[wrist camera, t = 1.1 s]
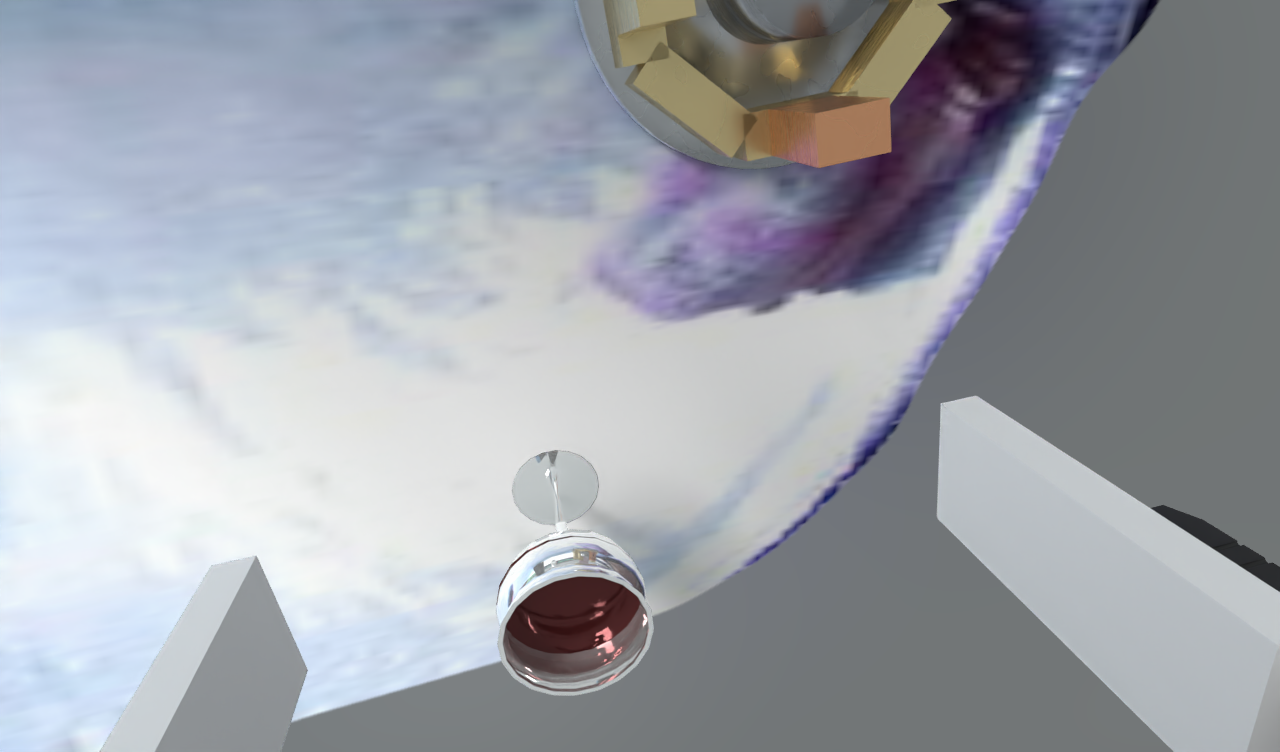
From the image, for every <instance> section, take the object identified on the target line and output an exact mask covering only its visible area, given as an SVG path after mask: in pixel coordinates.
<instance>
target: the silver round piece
mask: <svg viewBox="0 0 1280 752" xmlns="http://www.w3.org/2000/svg"><path fill="white" fill-rule="evenodd" d="M694 1H695V8H696V16H693V17H690V18H688V19H685V20H682V21H679V22H676V23H673V24H670V25H667V26H665V29H666V36H667V43H668V47H669V48H670V49H671V50H672V51H674V52H675V53H676V54H677V55H679V56H680V57H681V58H683V59H684V60H685V61H686V62H688V63H689V64H690V65H691V66H693V67H694V68H695V69H696V70H698V71H699V72H700V73H701V74H703V75H704V76H705V77H706V78H708V79H709V80H710V81H711V82H713V83H714V84H715V85H716V86H718V87H719V88H720V89H722V90H723V91H724V92H725V93H727V94H728V95H729V96H730V97H732V98H733V99H734V100H735V101H737V102H738V103H739V104H740V105H742V106H743V107H744V108H745V109H748V108H752V107H757V106H762V105H767V104H771V103H776V102H781V101H786V100H790V99H795V98H800V97H805V96H809V95H814V94H819V93H823V92H828V91H829V89H830V88H831V86H832V85H833V83H834V82H835V80H836V79H837V78H838V76H839V75H840V73H841V72H842V70H843V69H844V67H845V66H846V65H847V63H848V62H849V60H850V59H851V57H852V56H853V54H854V53H855V52H856V50H857V49H858V47H859V46H860V44H861V43H862V41H863V40H864V39H865V37H866V36H867V34H868V33H869V31H870V30H871V28H872V27H873V26H874V24H875V23H876V21H877V20H878V18H879V17H880V15H881V14H882V12H883V11H884V10H885V8H886V7H887V5H888V4H889V0H694ZM574 2H575V9H576V13H577V17H578V21H579V25H580V29H581V33H582V36H583V39H584V41H585V44H586V47H587V49H588V52H589V54H590V57H591V60H592V62H593V64H594V65H595V67H596V69H597V71H598V73H599V75H600V77H601V79H602V81H603V82H604V84H605V86H606V87H607V88H608V90H609V91H610V93H611V94H612V95H613V97H614V98H615V100H616V101H617V103H618V104H619V105H620V106H621V107H622V108H623V109H624V111H625V112H626V113H627V114H628V115H629V116H630V117H631V118H632V119H633V120H634V121H635V122H636V123H637V124H638V125H639V126H641V127H642V128H643V129H644V130H645V131H647V132H648V133H649V134H650V135H651V136H653V137H654V138H656V139H657V140H659V141H661V142H662V143H664V144H665V145H667V146H669V147H670V148H672V149H674V150H677V151H679V152H681V153H683V154H685V155H688V156H690V157H692V158H695V159H698V160H701V161H704V162H708V163H711V164H715V165H718V166H724V167H731V168H739V169H765V168H772V167H778V166H785V165H788V164H792V163H795V162H794V161H790V160H786V159H782V158H779V157H775V156H770V157H766V158H761V159H756V160H752V161H744V160H741V159H738V158H734V157H732V158H729V157H726V156H723V155H720V154H717V153H716V152H714V151H713V150H712V149H710V148H709V147H708V146H706V145H705V144H704V143H702V142H701V141H700V140H698V139H697V138H696V137H694V136H693V135H692V134H690V133H689V132H688V131H686V130H685V129H684V128H682V127H681V126H680V125H678V124H677V123H676V122H674V121H673V120H672V119H670V118H669V117H668V116H666V115H665V114H664V113H662V112H661V111H660V110H658V109H657V108H656V107H654V106H653V105H652V104H650V103H649V102H648V101H646V100H645V99H644V98H642V97H641V96H640V95H638V94H637V93H636V92H634V91H633V90H632V89H630V88H629V87H628V86H626V85H625V82H626V80H627V79H628V77H629V76H630V74H631V72H632V71H633V69H634V67H635V66H636V65H632V66H627V67H622V68H615V65H614V59H613V54H612V48H611V43H610V37H609V32H608V26H607V21H606V15H605V9H604V4H603V0H574Z"/></svg>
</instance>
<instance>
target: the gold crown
mask: <svg viewBox="0 0 1280 752" xmlns="http://www.w3.org/2000/svg"><path fill="white" fill-rule="evenodd" d="M950 1H955V0H889V4H888V5H887V7H886V8H885V10H884V11H883V12H882V14H881V15H880V17H879V18H878V20H877V21H876V23H875V24H874V26H873V27H872V28H871V30H870V31H869V33H868V34H867V36H866V37H865V39H864V40H863V41H862V43H861V44H860V46H859V47H858V49H857V50H856V52H855V53H854V54H853V56H852V57H851V59H850V60H849V62H848V63H847V65H846V66H845V67H844V69H843V70H842V72H841V73H840V75H839V76H838V78H837V79H836V80H835V82H834V83H833V85H832V86H831V88H830V89H829V91H828V92H823V93H819V94H814V95H809V96H805V97H800V98H795V99H790V100H786V101H781V102H776V103H771V104H767V105H762V106H757V107H752V108H748V109H745V108H744V107H743V106H742V105H740V104H739V103H738V102H737V101H735V100H734V99H733V98H732V97H730V96H729V95H728V94H727V93H725V92H724V91H723V90H722V89H720V88H719V87H718V86H716V85H715V84H714V83H713V82H711V81H710V80H709V79H708V78H706V77H705V76H704V75H703V74H701V73H700V72H699V71H698V70H696V69H695V68H694V67H693V66H691V65H690V64H689V63H688V62H686V61H685V60H684V59H683V58H681V57H680V56H679V55H677V54H676V53H675V52H674V51H672V50H671V49H670V48H669V47H668V43H667V36H666V29H665V26H667V25H670V24H673V23H676V22H679V21H682V20H685V19H688V18H690V17H693V16H696V8H695V1H694V0H603V4H604V9H605V15H606V21H607V26H608V32H609V37H610V43H611V48H612V54H613V59H614V65H615V68H622V67H627V66H632V65H636V66H635V67H634V69H633V71H632V72H631V74H630V76H629V77H628V79H627V80H626V82H625V85H626V86H628V87H629V88H630V89H632V90H633V91H634V92H636V93H637V94H638V95H640V96H641V97H642V98H644V99H645V100H646V101H648V102H649V103H650V104H652V105H653V106H654V107H656V108H657V109H658V110H660V111H661V112H662V113H664V114H665V115H666V116H668V117H669V118H670V119H672V120H673V121H674V122H676V123H677V124H678V125H680V126H681V127H682V128H684V129H685V130H686V131H688V132H689V133H690V134H692V135H693V136H694V137H696V138H697V139H698V140H700V141H701V142H702V143H704V144H705V145H706V146H708V147H709V148H710V149H712V150H713V151H714V152H716V153H717V154H720V155H723V156H726V157H729V158H732V157H734V158H738V159H741V160H744V161H752V160H756V159H761V158H766V157H770V156H775V157H779V158H782V159H786V160H790V161H794V162H798V163H802V164H805V165H809V166H813V167H817V168H821V167H826V166H830V165H835V164H839V163H844V162H848V161H853V160H857V159H862V158H866V157H871V156H875V155H880V154H884V153H889V152H891V123H890V104H891V103H892V102H893V100H894V99H895V97H896V96H897V95H898V93H899V92H900V90H901V89H902V88H903V86H904V85H905V83H906V82H907V81H908V79H909V78H910V76H911V75H912V74H913V72H914V71H915V69H916V68H917V67H918V65H919V64H920V62H921V61H922V60H923V58H924V57H925V56H926V54H927V53H928V51H929V50H930V49H931V47H932V46H933V44H934V43H935V42H936V40H937V39H938V37H939V36H940V35H941V33H942V32H943V30H944V29H945V28H946V26H947V25H948V23H949V22H950V21H951V19H952V18H951V17H949V16H948V15H947V14H946V13H945V12H944V11H943V10H942V9H941V8H940V7H939V6H938V5H937V4H940V3H945V2H950Z"/></svg>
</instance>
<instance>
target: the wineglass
mask: <svg viewBox="0 0 1280 752" xmlns="http://www.w3.org/2000/svg"><path fill="white" fill-rule="evenodd" d="M598 487H599V486H598V479H597V474H596V473H595V471H594V469H593V467H592V465H591V464H590V463H588V462H587V461H586V460H585V459H584V458H583V457H581V456H579V455H576V454H574V453H571V452H566V451H551V452H545V453H541V454H539V455H537V456H535V457H533V458H531V459H530V460H529V461H527V462H526V463H525V464H524V465H523V466H522V467H521V468H520V470H519V471H518V473H517V475H516V477H515V479H514V483H513V489H512V492H513V497H514V502H515V504H516V505H517V507H518V508H519V510H520V512H521V513H523V514H524V515H525V516H526V517H528V518H529V519H530V520H533V521H536V522H538V523H541V524H549V525H556V532H555V533H550V534H548V535H546V536H544V537H542V538H540V539H538V540H536V541H534V542H532V543H530V544H529V545H528V546H527V547H526V548H525V549H524V550H523V551H521V552H520V553H519V554H518V555H517V556H516V557H515V559H514V560H513V562H512V564H511V565H510V567H509V569H508V570H507V572H506V574H505V576H504V577H503V579H502V581H501V583H500V585H499V591H498V597H497V603H496V605H497V608H496V613H497V618H498V622H499V626H500V631H499V637H498V643H497V644H498V648H499V652H500V657H501V661H502V663H503V664H504V666H505V667H506V668H507V670H508V671H509V672H510V674H511V675H512V676H513V678H514V679H516V680H517V681H519V682H521V683H522V684H524V685H525V686H527V687H528V688H530V689H532V690H536V691H539V692H543V693H547V694H550V695H580V694H584V693H589V692H593V691H597V690H600V689H602V688H604V687H606V686H609V685H610V684H612V683H615V682H617V681H619V680H620V679H622V678H623V677H624V676H625V675H626V674H628V673H629V672H630V671H631V670H632V669H634V668H635V667H636V666H637V665H638V663H639V662H640V660H641V659H642V657H643V656H644V654H645V653H646V651H647V650H648V648H649V645H650V642H651V638H652V634H653V630H654V627H653V619H652V611H651V609H650V607H649V605H648V604H647V602H646V592H645V584H644V579H643V577H642V576H641V573H640V572H639V570H638V568H637V567H636V565H635V563H634V561H633V560H632V558H631V556H630V555H629V554H628V553H627V552H626V551H625V550H624V549H622V548H621V547H620V546H619V545H617V544H616V543H615V542H614V541H612V540H611V539H610V538H609V537H606V536H603V535H601V534H598V533H595V532H592V531H585V530H571V529H570V530H568V528H567V523H568V522H571V521H573V520H575V519H577V518H579V517H581V516H582V515H583V514H584V513H585V512H586V511H587V510H588V509H590V507H591V505H592V504H593V502H594V500H595V499H596V496H597V491H598Z"/></svg>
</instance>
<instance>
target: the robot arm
mask: <svg viewBox="0 0 1280 752" xmlns="http://www.w3.org/2000/svg"><path fill="white" fill-rule="evenodd" d="M938 471H939V472H938V499H937V500H938V501H937V519H938V520H939V521H940V522H941V523H942V524H943V525H944V526H945V527H946V528H947V529H948V530H950V532H952V533H953V534H954V535H955V536H956V537H957V538H958V539H959V540H960V541H961V542H962V543H963V544H964V545H965V546H966V547H967V548H968V549H969V550H970V551H971V552H972V553H973V554H974V555H975V556H976V557H977V558H978V559H979V560H980V561H981V562H982V563H983V564H984V565H985V566H986V567H987V568H988V569H989V570H990V571H991V572H992V573H993V574H994V575H995V576H996V577H997V578H998V579H999V580H1000V581H1001V582H1002V583H1003V584H1004V585H1005V586H1006V587H1007V588H1008V589H1009V590H1010V591H1011V592H1012V593H1013V594H1014V595H1015V596H1016V597H1017V598H1018V599H1019V600H1020V601H1022V603H1024V604H1025V605H1026V606H1027V607H1028V608H1029V609H1030V610H1031V611H1032V612H1033V613H1034V614H1035V615H1036V616H1037V617H1038V618H1039V619H1040V620H1041V621H1042V622H1043V623H1044V624H1045V625H1046V626H1047V627H1048V628H1049V629H1050V630H1051V631H1052V632H1053V633H1054V634H1055V635H1056V636H1057V637H1058V638H1059V639H1060V640H1061V641H1062V642H1063V643H1064V644H1065V645H1066V646H1067V647H1068V648H1069V649H1070V650H1071V651H1072V652H1073V653H1074V654H1075V655H1076V656H1077V657H1078V658H1079V659H1080V660H1081V661H1082V662H1083V663H1084V664H1085V665H1086V666H1087V667H1089V669H1090V670H1091V671H1092V672H1093V673H1095V674H1096V675H1097V676H1098V677H1099V678H1100V679H1101V680H1102V681H1103V682H1104V683H1105V684H1106V685H1107V686H1108V687H1109V688H1110V689H1111V690H1112V691H1113V692H1114V693H1115V694H1116V695H1117V696H1118V697H1119V698H1120V699H1121V700H1122V701H1123V702H1124V703H1125V704H1126V705H1127V706H1128V707H1129V708H1130V709H1131V710H1132V711H1133V712H1134V713H1135V714H1136V715H1137V716H1138V717H1139V718H1140V719H1141V720H1142V721H1143V722H1144V723H1145V724H1146V725H1148V727H1149V728H1151V730H1152V731H1153V732H1154V733H1155V734H1157V736H1159V738H1160V739H1161V740H1162V741H1163V742H1165V744H1166V745H1168V746H1169V747H1170V748H1171V749H1172V750H1173V751H1174V752H1280V567H1279V566H1277V565H1276V564H1274V563H1267V562H1266V560H1265V558H1264V557H1263V556H1261V555H1259V554H1258V553H1256V552H1254V551H1253V550H1251V549H1250V548H1248V547H1246V546H1244V545H1242V546H1240V545H1238V543H1237V540H1235V539H1233V538H1232V537H1230V536H1228V535H1227V534H1225V533H1224V532H1222V531H1220V530H1219V529H1217V528H1215V527H1214V526H1212V525H1210V524H1209V523H1207V522H1206V521H1204V520H1202V519H1199V518H1196V517H1194V516H1191V515H1188V514H1185V513H1183V512H1180V511H1177V510H1175V509H1172V508H1170V507H1167V506H1164V505H1161V506H1157V507H1153V508H1149V507H1147V506H1146V505H1144V504H1143V503H1141V502H1139V501H1138V500H1137V499H1135V498H1134V497H1132V496H1130V495H1129V494H1127V493H1126V492H1124V491H1122V490H1121V489H1119V488H1118V487H1117V486H1115V485H1113V484H1112V483H1110V482H1109V481H1107V480H1106V479H1104V478H1103V477H1101V476H1100V475H1098V474H1096V473H1095V472H1093V471H1092V470H1090V469H1089V468H1087V467H1086V466H1084V465H1083V464H1081V463H1080V462H1078V461H1076V460H1075V459H1073V458H1072V457H1070V456H1069V455H1067V454H1066V453H1064V452H1062V451H1061V450H1059V449H1058V448H1056V447H1055V446H1053V445H1052V444H1050V443H1049V442H1047V441H1045V440H1044V439H1043V438H1041V437H1039V436H1038V435H1036V434H1035V433H1033V432H1032V431H1030V430H1029V429H1027V428H1025V427H1024V426H1022V425H1021V424H1019V423H1018V422H1016V421H1015V420H1013V419H1012V418H1010V417H1008V416H1007V415H1005V414H1004V413H1002V412H1001V411H999V410H998V409H996V408H994V407H993V406H992V405H990V404H988V403H987V402H985V401H984V400H982V399H981V398H979V397H978V396H972V397H968V398H963V399H959V400H954V401H950V402H945V403H941V412H940V442H939V470H938ZM307 671H308V670H307V667H306V665H305V663H304V661H303V658H302V656H301V654H300V652H299V649H298V647H297V645H296V643H295V641H294V638H293V636H292V634H291V632H290V629H289V627H288V625H287V623H286V620H285V618H284V616H283V614H282V612H281V609H280V607H279V605H278V603H277V600H276V598H275V596H274V594H273V592H272V589H271V587H270V585H269V583H268V580H267V578H266V576H265V574H264V571H263V569H262V567H261V565H260V563H259V560H258V558H257V556H252V557H248V558H243V559H239V560H234V561H230V562H225V563H221V564H216V565H212V566H211V567H210V569H209V570H208V572H207V574H206V575H205V577H204V579H203V580H202V582H201V584H200V585H199V587H198V589H197V590H196V592H195V594H194V595H193V597H192V599H191V600H190V602H189V604H188V605H187V607H186V609H185V610H184V612H183V614H182V615H181V617H180V619H179V620H178V622H177V624H176V625H175V627H174V629H173V630H172V632H171V634H170V635H169V637H168V639H167V640H166V642H165V644H164V645H163V647H162V649H161V650H160V652H159V654H158V655H157V657H156V659H155V660H154V662H153V664H152V665H151V667H150V669H149V670H148V672H147V674H146V675H145V677H144V679H143V680H142V682H141V684H140V685H139V687H138V689H137V690H136V692H135V694H134V695H133V697H132V699H131V700H130V702H129V704H128V705H127V707H126V709H125V710H124V712H123V714H122V715H121V717H120V718H119V720H118V722H117V723H116V725H115V727H114V728H113V730H112V732H111V733H110V735H109V737H108V738H107V740H106V742H105V743H104V745H103V747H102V748H101V750H100V752H281V750H282V747H283V744H284V741H285V738H286V735H287V732H288V729H289V726H290V723H291V720H292V717H293V714H294V711H295V708H296V704H297V701H298V698H299V695H300V692H301V689H302V686H303V683H304V680H305V677H306V674H307Z"/></svg>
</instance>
